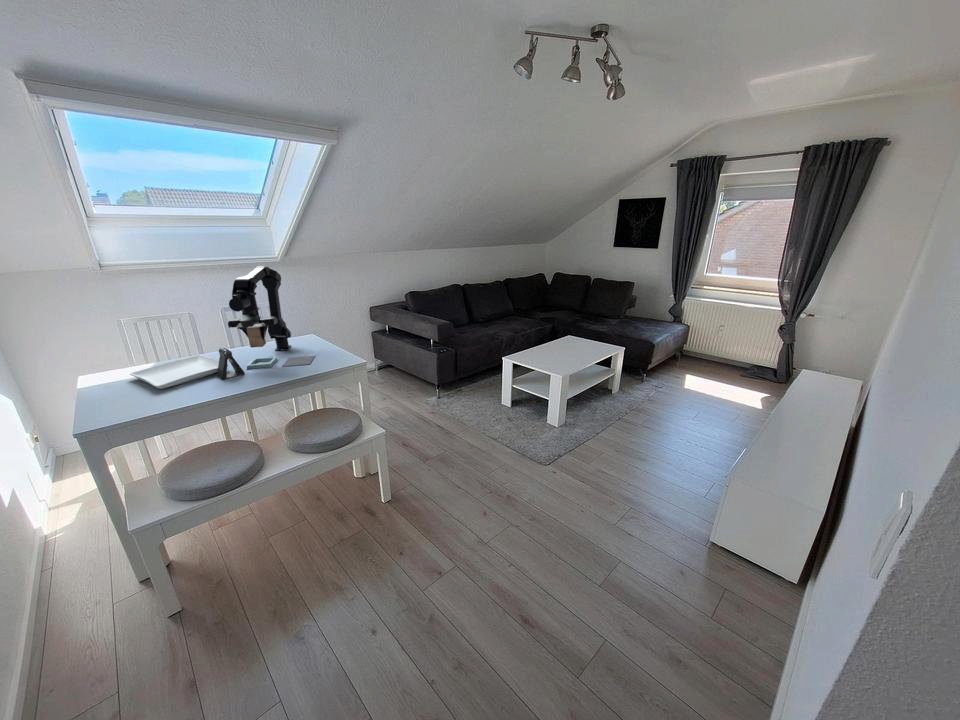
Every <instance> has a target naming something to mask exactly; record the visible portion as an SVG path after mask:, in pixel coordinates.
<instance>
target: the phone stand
mask: <svg viewBox="0 0 960 720" xmlns="http://www.w3.org/2000/svg"><path fill="white" fill-rule="evenodd" d="M218 353H219V359H218V361H219V365H218V371H217V372H216V377H217V378H219V379H220V380H223V381H224V380H225V381H226V380H229V379H230V378H235V377H238V376H242V375H245V374H246V373H245V371H244V369H242V367H241V366H240V364H239V363H238V362H237V361H236V359H235V358H234V357H233V352H232V351H231V350H229V349H227V348H226V347H223V348H219V349H218ZM228 362H229V363H230V365H231V366H232V368H233V370H234V371H230V372H228V366H227V364H228Z"/></svg>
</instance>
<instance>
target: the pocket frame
mask: <svg viewBox="0 0 960 720" xmlns="http://www.w3.org/2000/svg"><path fill="white" fill-rule="evenodd" d="M277 361H278V357H277V356H268V357H267V356H266V357H257V358H256V357H254V358H252V359H251V360H250V362H249V363H248V364H247V365H246V369H247V370H249V369H259V368H260V369H262V368H271V367H272V366H273V365H275V363H276V362H277ZM258 362H267V363H258Z"/></svg>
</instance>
